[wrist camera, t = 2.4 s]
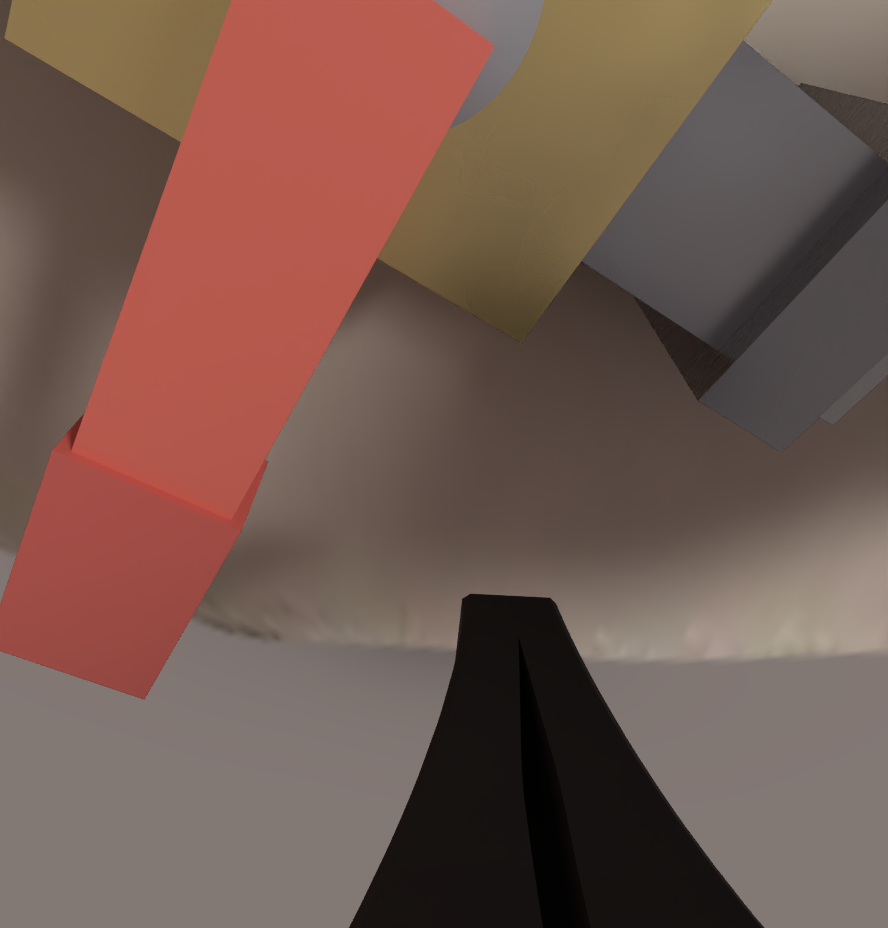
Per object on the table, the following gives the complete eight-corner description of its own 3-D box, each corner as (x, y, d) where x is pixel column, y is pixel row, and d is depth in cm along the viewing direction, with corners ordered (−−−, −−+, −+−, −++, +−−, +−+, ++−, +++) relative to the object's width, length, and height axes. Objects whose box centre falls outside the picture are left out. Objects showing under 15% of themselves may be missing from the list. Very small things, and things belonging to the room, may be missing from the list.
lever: (340, -298, 5) (303, -393, 4) (594, -84, 6) (632, -106, 5) (32, 562, 10) (-26, 641, 9) (188, 621, 11) (155, 703, 9)
